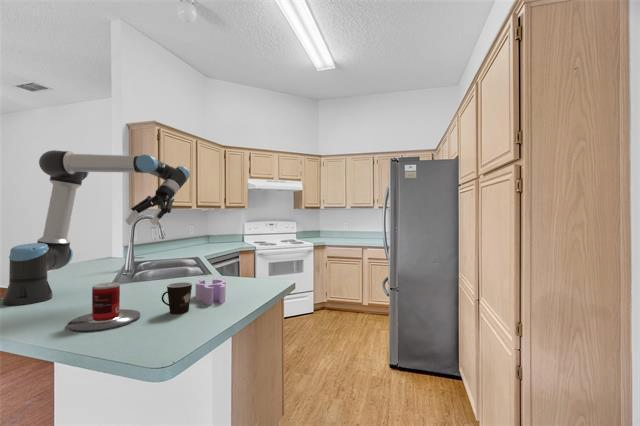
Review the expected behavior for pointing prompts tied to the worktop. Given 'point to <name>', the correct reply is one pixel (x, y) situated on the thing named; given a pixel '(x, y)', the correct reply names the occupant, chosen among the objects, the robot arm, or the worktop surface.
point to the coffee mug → (178, 297)
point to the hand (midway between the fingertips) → (139, 222)
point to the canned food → (105, 301)
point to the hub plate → (103, 322)
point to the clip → (211, 291)
